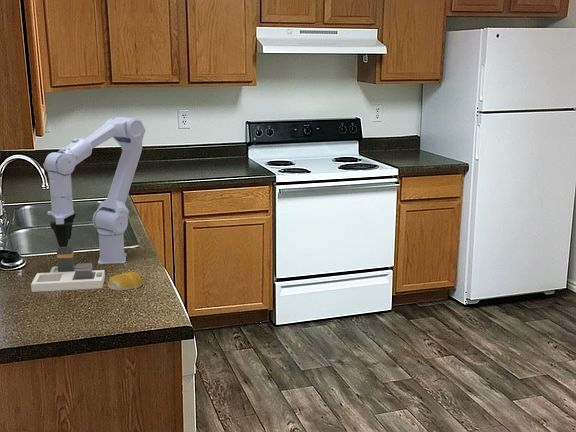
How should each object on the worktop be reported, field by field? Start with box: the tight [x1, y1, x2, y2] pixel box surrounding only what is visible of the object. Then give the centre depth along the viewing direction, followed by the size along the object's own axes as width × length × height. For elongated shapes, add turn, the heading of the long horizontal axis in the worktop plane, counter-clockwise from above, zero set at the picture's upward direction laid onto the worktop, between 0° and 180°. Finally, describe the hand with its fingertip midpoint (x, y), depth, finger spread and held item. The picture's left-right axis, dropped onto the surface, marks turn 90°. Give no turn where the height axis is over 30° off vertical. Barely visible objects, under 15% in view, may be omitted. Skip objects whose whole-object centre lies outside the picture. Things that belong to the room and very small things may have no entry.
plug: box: [56, 246, 76, 272], centre depth 188 cm, size 4×4×7 cm
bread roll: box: [107, 271, 143, 292], centre depth 179 cm, size 8×9×4 cm
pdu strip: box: [30, 262, 106, 293], centre depth 179 cm, size 9×18×6 cm, turn 101°
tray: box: [49, 265, 76, 273], centre depth 188 cm, size 9×9×1 cm
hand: (64, 242), depth 186 cm, fingers open, 7 cm apart
